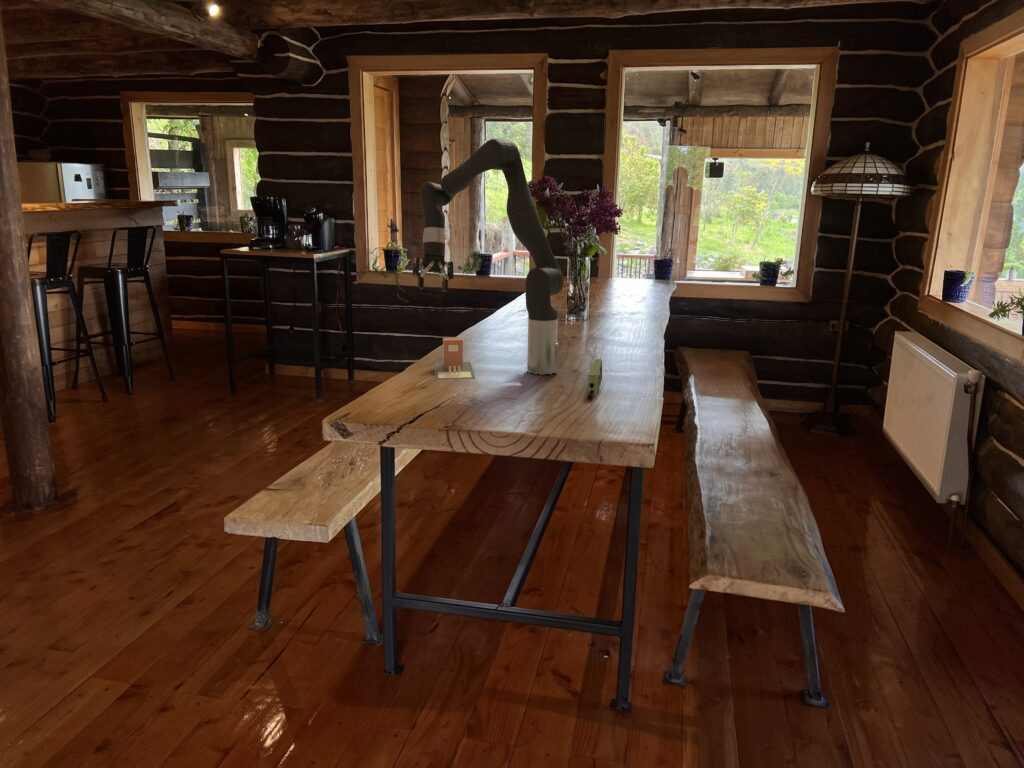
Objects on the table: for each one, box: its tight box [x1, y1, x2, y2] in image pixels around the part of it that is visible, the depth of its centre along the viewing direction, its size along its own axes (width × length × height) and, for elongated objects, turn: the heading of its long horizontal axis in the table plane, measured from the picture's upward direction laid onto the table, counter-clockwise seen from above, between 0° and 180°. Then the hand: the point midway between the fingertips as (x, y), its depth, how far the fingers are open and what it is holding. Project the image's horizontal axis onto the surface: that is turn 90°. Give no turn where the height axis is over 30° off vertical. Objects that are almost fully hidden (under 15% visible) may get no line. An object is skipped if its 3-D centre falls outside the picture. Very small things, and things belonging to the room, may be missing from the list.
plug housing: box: [442, 337, 464, 368], centre depth 232 cm, size 6×5×9 cm
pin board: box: [433, 361, 476, 381], centre depth 228 cm, size 12×22×4 cm, turn 7°
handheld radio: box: [587, 358, 603, 400], centre depth 212 cm, size 7×3×25 cm
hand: (432, 290), depth 247 cm, fingers open, 8 cm apart
